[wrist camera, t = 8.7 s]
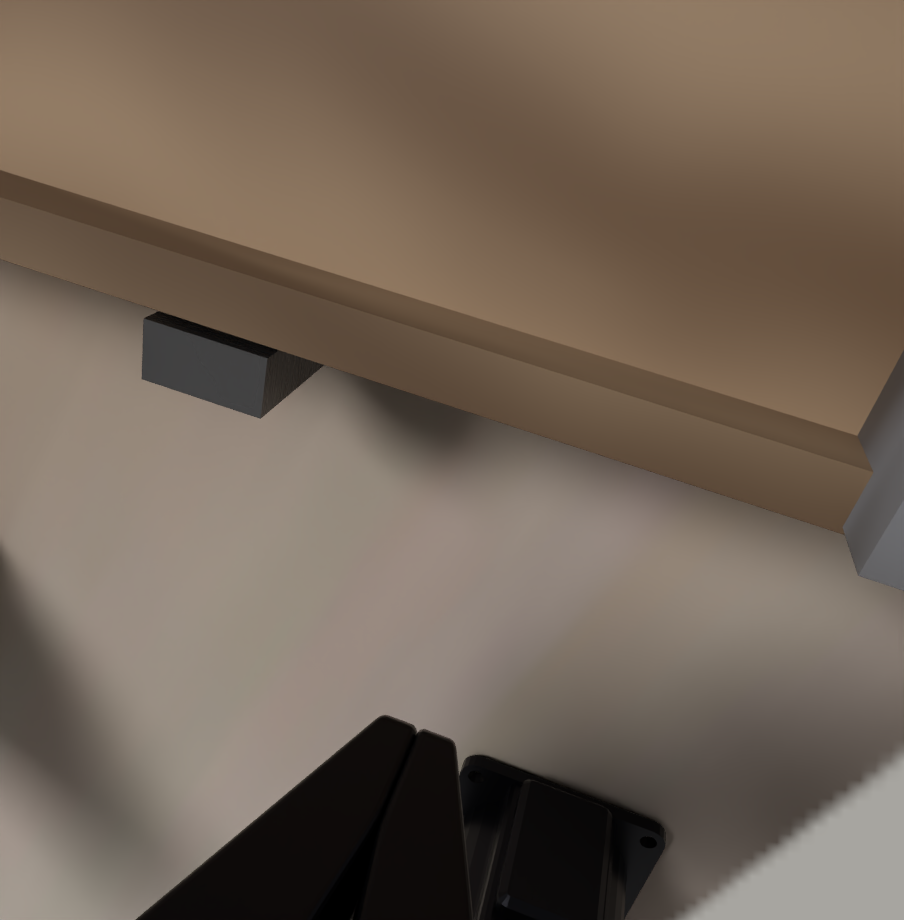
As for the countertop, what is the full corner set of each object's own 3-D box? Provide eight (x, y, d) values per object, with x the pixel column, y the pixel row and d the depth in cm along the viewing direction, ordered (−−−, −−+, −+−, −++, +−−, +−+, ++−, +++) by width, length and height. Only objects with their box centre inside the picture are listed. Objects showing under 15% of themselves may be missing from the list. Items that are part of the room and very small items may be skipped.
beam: (1021, 548, 13) (1127, 703, 10) (-381, 100, 16) (-632, 108, 13) (1501, -123, 8) (1970, -233, 5) (-554, -536, 12) (-989, -744, 9)
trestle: (480, 358, 19) (405, 466, 14) (182, 264, 20) (8, 334, 15) (654, -319, 13) (636, -563, 8) (218, -406, 14) (-49, -675, 9)
